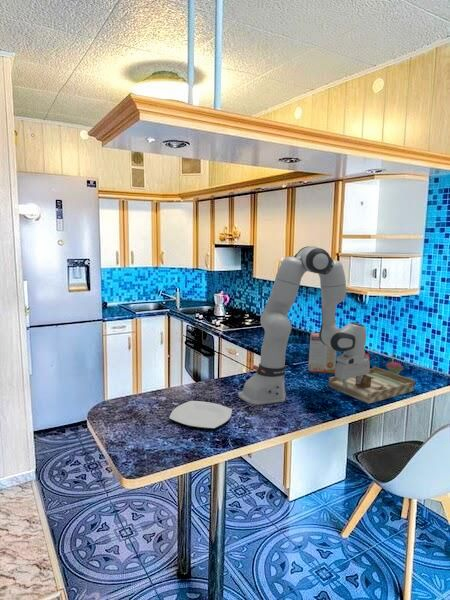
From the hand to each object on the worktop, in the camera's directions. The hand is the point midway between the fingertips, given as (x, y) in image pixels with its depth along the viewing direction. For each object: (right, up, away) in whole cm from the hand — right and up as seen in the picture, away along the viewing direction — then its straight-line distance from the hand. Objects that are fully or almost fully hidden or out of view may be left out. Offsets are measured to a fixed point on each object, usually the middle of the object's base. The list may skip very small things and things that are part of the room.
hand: (351, 385), depth 198 cm
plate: (-69, -7, -31) cm, 76 cm away
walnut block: (+7, -1, +5) cm, 9 cm away
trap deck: (+12, -3, +9) cm, 16 cm away
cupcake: (+33, -1, +32) cm, 46 cm away
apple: (+19, +2, +44) cm, 48 cm away
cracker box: (-7, +1, +32) cm, 33 cm away
